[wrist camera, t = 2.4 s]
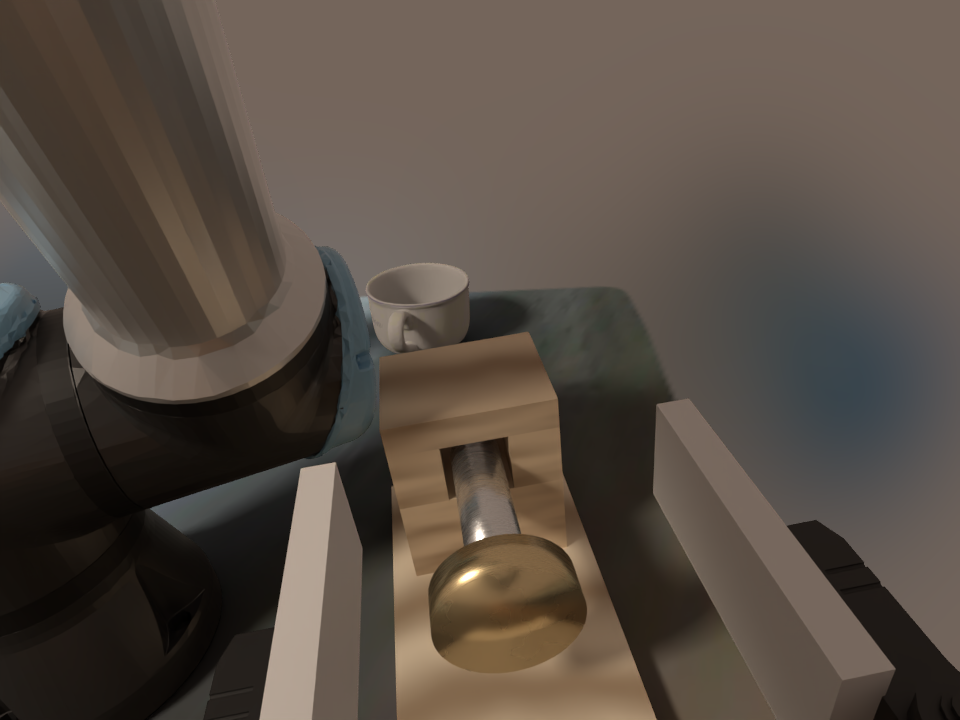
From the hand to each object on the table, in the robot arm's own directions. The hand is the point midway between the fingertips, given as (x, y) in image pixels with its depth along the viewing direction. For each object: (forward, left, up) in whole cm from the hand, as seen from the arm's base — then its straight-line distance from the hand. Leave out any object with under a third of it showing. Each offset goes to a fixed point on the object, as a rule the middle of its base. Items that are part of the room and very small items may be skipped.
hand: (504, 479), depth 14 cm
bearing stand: (-11, +7, -24) cm, 27 cm away
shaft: (-11, +6, -18) cm, 22 cm away
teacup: (-43, +22, -24) cm, 54 cm away
